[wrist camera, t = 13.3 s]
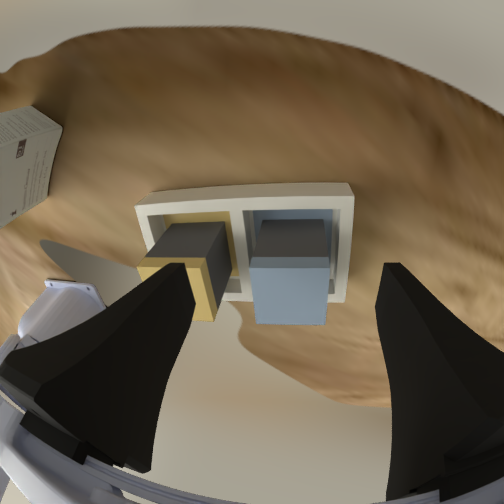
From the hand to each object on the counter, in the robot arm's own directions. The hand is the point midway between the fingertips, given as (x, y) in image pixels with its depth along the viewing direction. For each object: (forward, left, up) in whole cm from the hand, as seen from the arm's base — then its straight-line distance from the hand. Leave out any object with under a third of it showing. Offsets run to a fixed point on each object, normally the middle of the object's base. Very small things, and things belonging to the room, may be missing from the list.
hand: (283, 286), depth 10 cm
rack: (-3, -4, -10) cm, 11 cm away
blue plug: (0, -4, -9) cm, 10 cm away
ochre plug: (-7, -4, -9) cm, 12 cm away
